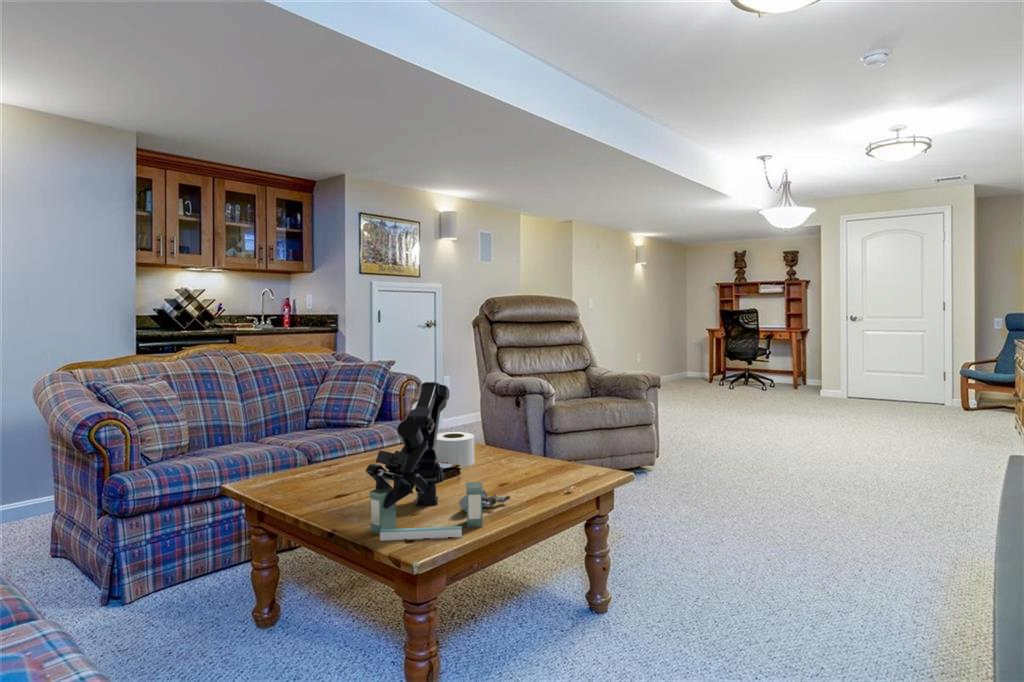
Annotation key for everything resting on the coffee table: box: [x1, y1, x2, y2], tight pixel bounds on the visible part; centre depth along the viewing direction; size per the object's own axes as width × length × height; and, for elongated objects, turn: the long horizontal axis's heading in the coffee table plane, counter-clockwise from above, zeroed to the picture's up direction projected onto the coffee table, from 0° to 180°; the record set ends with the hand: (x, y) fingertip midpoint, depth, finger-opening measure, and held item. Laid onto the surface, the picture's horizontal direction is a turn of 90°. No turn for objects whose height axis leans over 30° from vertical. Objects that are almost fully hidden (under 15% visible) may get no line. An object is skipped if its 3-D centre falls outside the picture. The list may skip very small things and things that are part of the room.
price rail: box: [379, 525, 463, 542], centre depth 144 cm, size 1×20×2 cm, turn 96°
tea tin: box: [369, 487, 397, 536], centre depth 149 cm, size 5×4×10 cm
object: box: [435, 431, 475, 468], centre depth 218 cm, size 16×15×11 cm
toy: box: [458, 489, 511, 513], centre depth 167 cm, size 7×11×15 cm
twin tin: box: [465, 481, 484, 529], centre depth 154 cm, size 5×4×10 cm
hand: (378, 506), depth 148 cm, fingers closed on tea tin, 4 cm apart
